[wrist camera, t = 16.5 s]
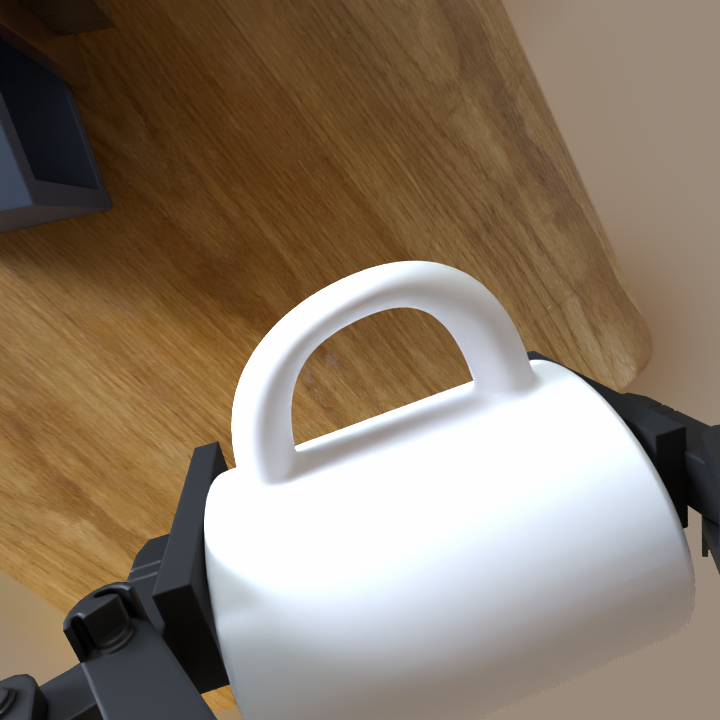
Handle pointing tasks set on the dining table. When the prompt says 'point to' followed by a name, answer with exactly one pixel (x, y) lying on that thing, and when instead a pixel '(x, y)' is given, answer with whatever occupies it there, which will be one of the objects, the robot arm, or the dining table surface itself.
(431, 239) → the dining table surface
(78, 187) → the cabinet
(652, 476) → the mug
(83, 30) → the sliding door
